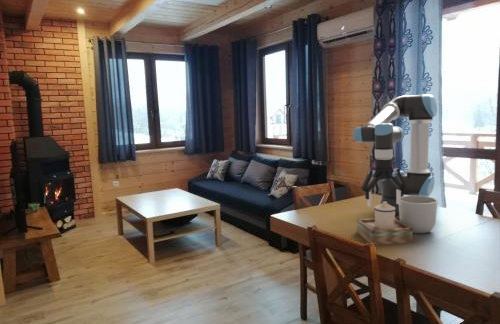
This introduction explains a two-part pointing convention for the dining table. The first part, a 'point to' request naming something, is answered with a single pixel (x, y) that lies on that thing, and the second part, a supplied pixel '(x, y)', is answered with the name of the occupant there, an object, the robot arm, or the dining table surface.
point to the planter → (418, 212)
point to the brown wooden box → (384, 232)
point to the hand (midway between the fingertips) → (383, 205)
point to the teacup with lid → (384, 216)
